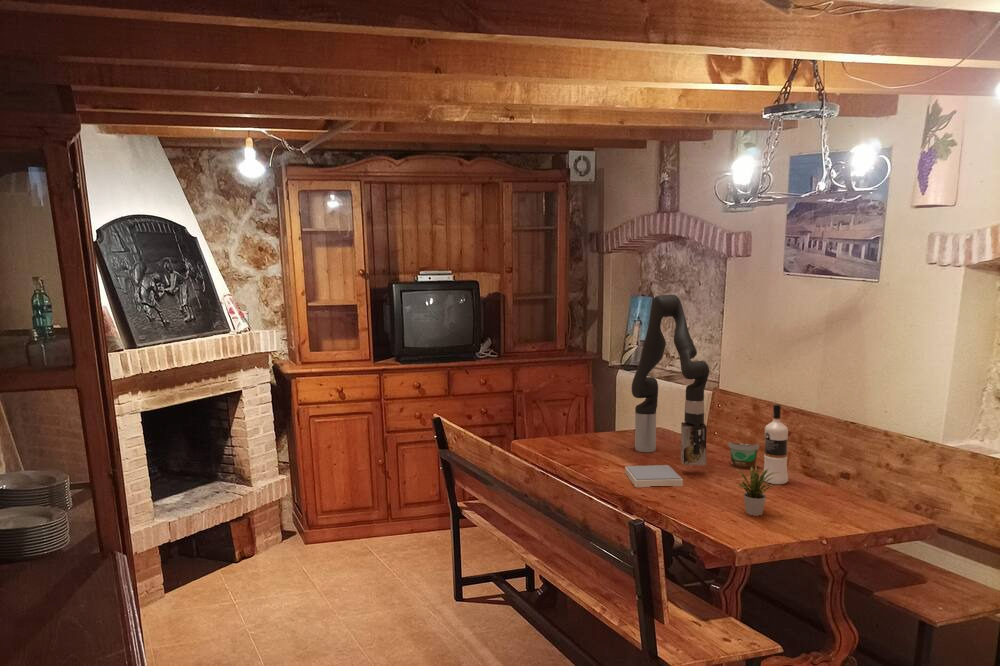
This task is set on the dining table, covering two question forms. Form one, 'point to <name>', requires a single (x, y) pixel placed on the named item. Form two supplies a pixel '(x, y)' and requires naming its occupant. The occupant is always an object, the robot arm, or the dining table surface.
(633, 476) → the podium
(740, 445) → the food container
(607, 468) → the dining table surface
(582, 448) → the dining table surface
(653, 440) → the robot arm
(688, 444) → the coffee box
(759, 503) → the house plant
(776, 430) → the vodka
